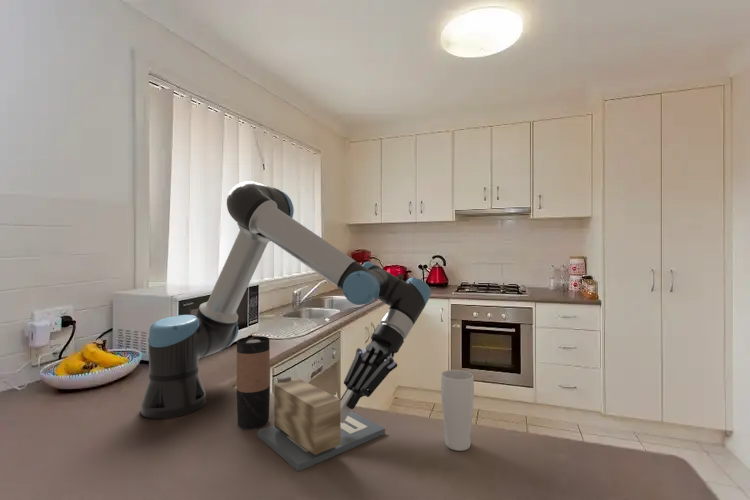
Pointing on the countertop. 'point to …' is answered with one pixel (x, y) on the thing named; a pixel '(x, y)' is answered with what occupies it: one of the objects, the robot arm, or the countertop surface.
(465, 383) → the drinking glass
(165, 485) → the countertop surface
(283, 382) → the tan wooden block
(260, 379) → the travel mug
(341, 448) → the label board
